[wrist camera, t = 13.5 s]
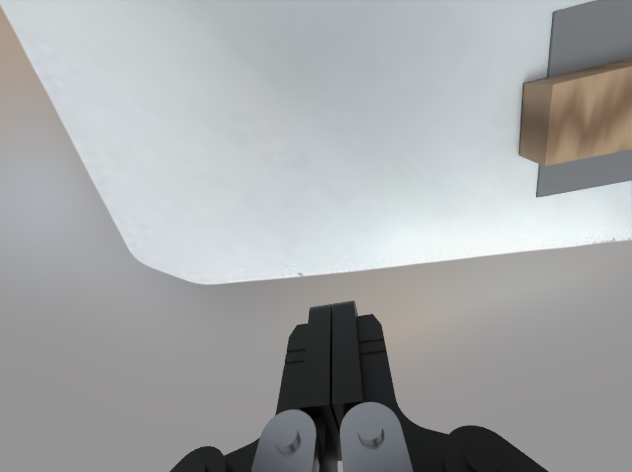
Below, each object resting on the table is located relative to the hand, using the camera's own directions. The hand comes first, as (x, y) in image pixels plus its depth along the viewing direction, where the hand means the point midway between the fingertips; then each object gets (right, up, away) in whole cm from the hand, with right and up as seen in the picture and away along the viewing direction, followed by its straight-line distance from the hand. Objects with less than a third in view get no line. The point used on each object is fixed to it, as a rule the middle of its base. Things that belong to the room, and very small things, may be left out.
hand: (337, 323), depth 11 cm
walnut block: (+23, +15, +23) cm, 36 cm away
